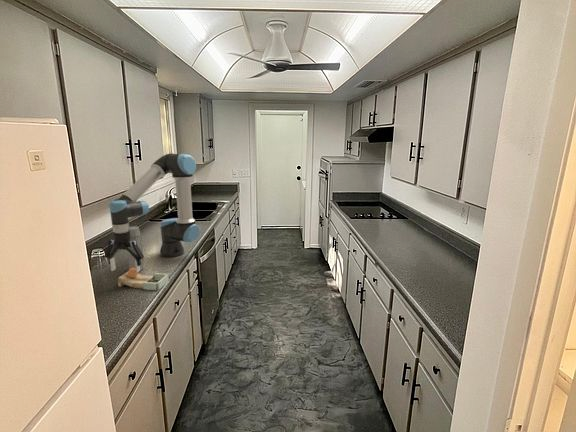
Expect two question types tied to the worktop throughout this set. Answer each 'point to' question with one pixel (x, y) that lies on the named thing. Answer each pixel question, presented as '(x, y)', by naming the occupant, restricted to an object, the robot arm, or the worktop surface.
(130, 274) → the ball
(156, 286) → the tray
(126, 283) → the ramp lane
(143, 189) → the robot arm
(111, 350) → the worktop surface
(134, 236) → the water bottle
